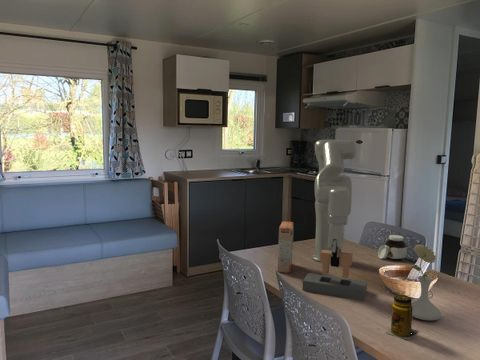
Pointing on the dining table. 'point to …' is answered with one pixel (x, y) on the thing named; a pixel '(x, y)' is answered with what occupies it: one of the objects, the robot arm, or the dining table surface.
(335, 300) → the dining table surface
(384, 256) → the spread jar
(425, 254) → the flower in vase
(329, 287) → the gray socket block
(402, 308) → the condiment
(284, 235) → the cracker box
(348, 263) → the clip
